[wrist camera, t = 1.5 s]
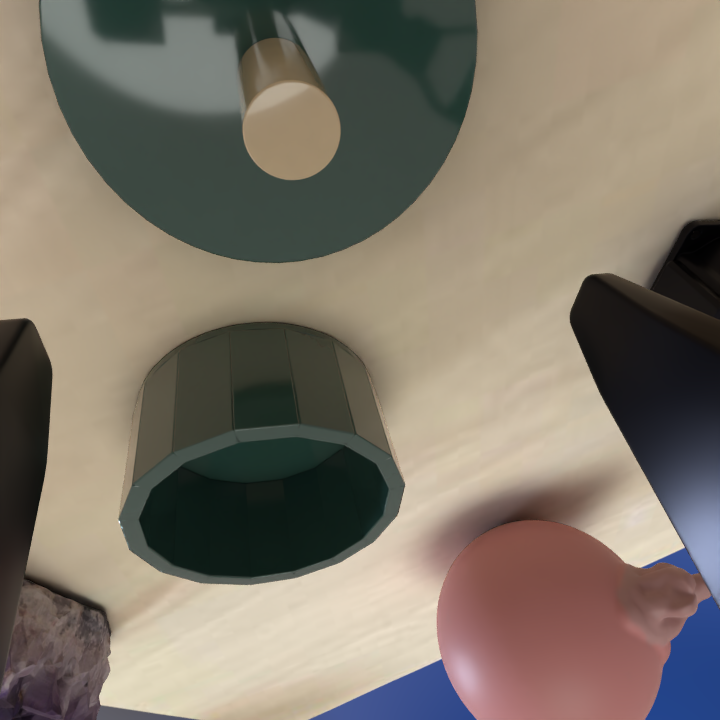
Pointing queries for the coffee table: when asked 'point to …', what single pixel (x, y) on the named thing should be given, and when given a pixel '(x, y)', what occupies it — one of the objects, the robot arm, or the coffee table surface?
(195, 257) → the coffee table surface
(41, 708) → the geode
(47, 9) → the lid
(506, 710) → the balloon
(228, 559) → the canister
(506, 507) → the coffee table surface
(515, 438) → the coffee table surface
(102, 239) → the coffee table surface
